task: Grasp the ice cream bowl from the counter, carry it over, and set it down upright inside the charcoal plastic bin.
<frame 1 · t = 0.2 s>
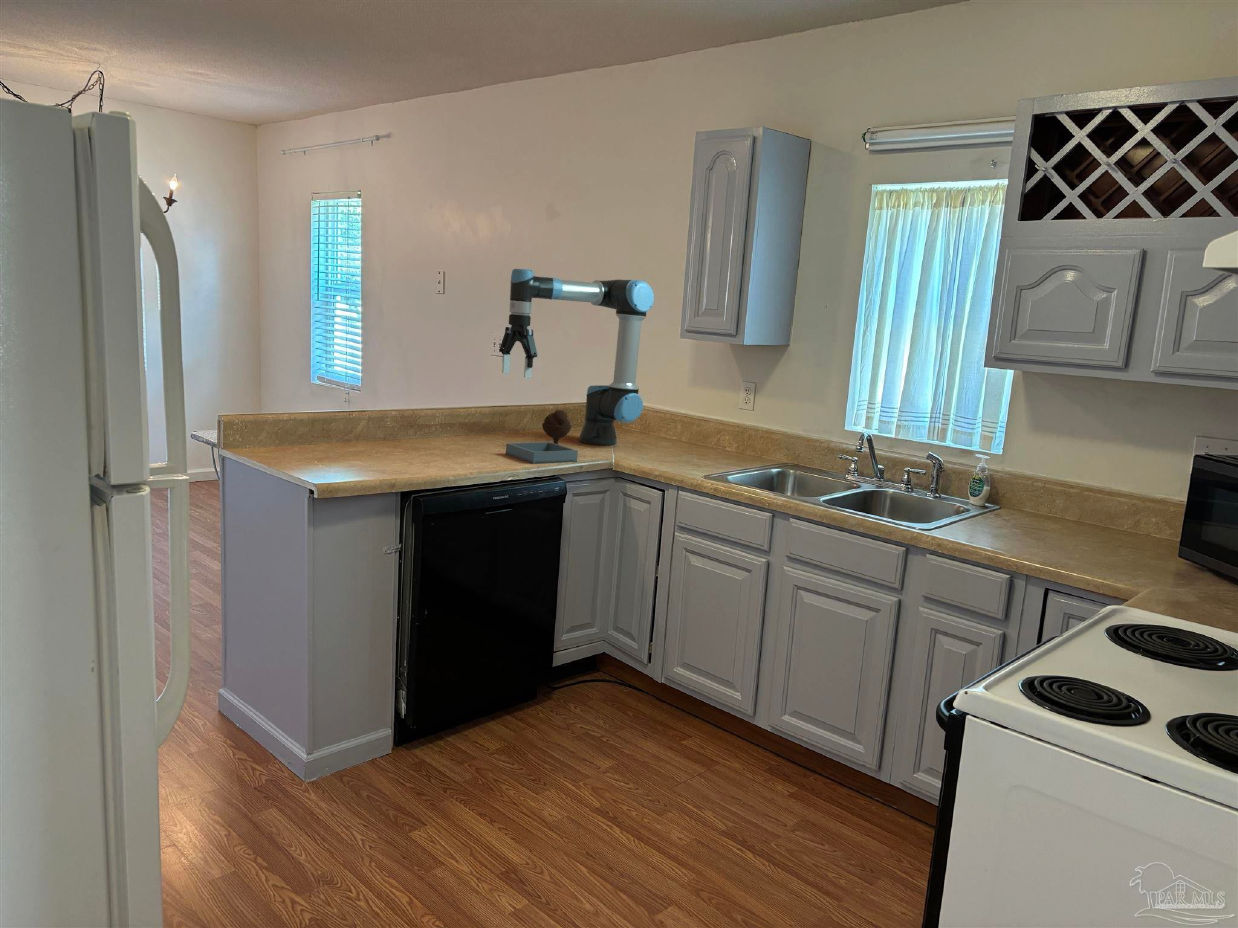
hand: (516, 375, 310), 28 cm above the worktop, fingers open, 13 cm apart
charcoal bin: (541, 458, 308), on the worktop
ice cream bowl: (555, 449, 329), on the worktop
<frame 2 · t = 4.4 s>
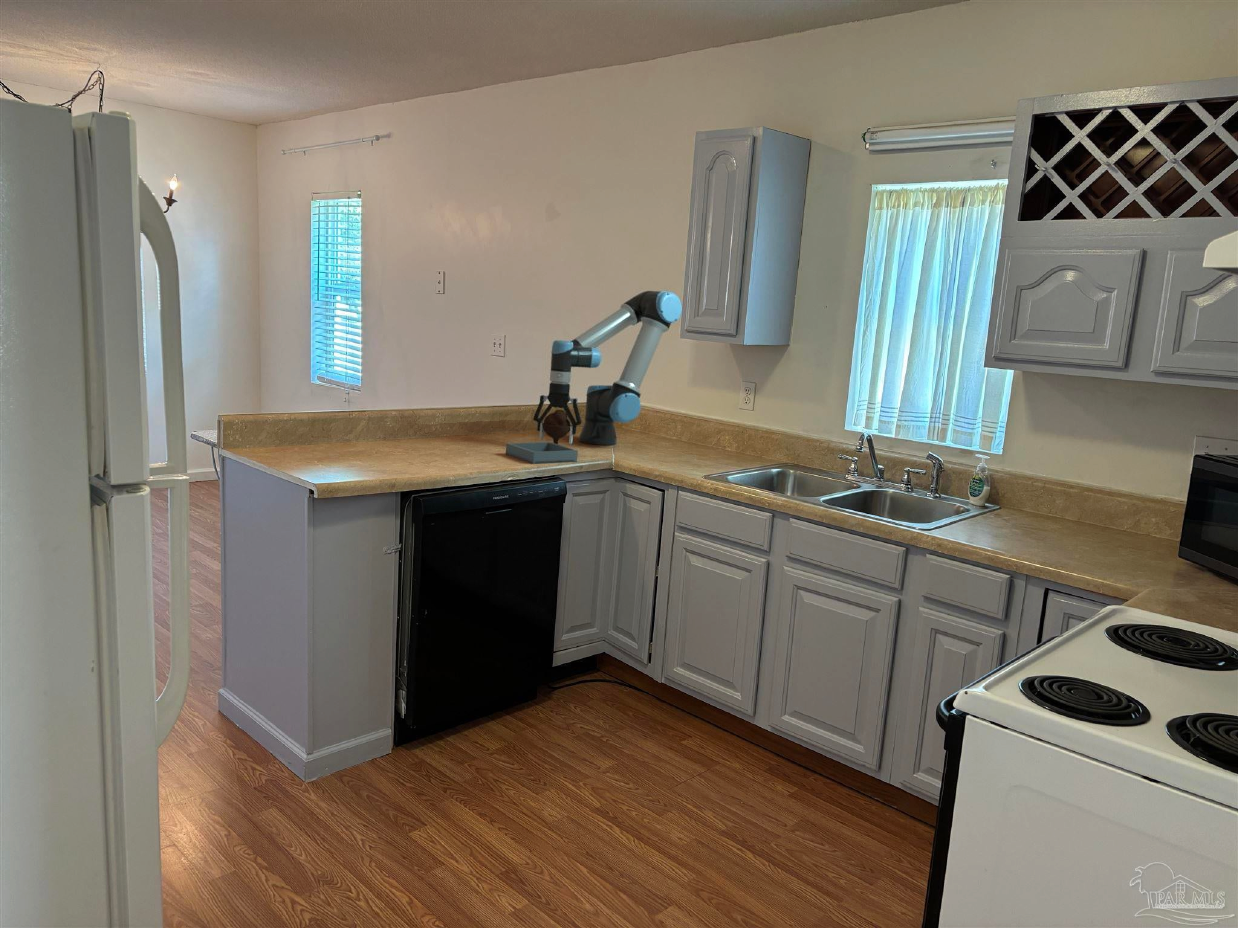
hand: (555, 441, 329), 3 cm above the worktop, fingers closed on ice cream bowl, 11 cm apart
ice cream bowl: (555, 449, 329), on the worktop, touching gripper
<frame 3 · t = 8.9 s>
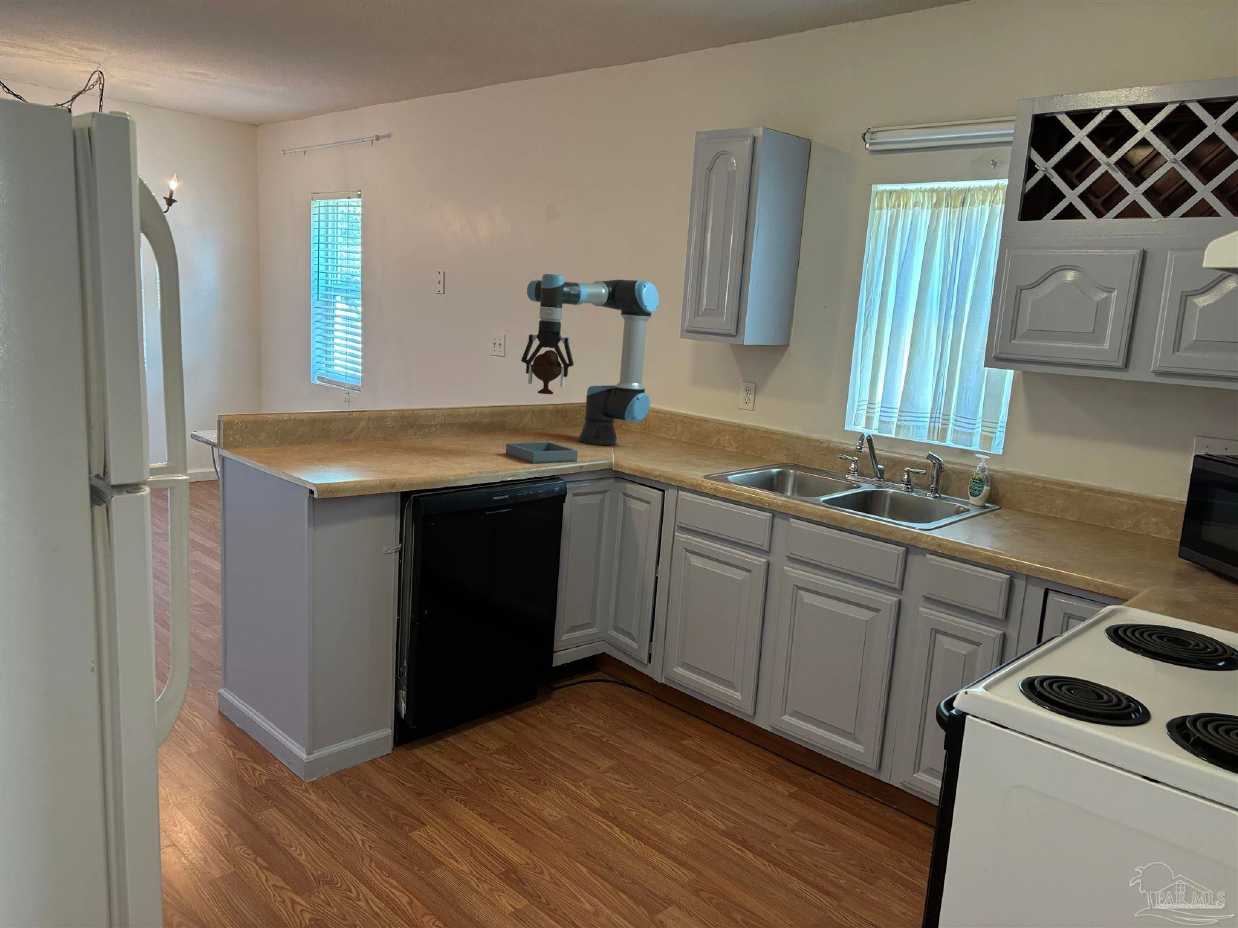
hand: (545, 385, 303), 26 cm above the worktop, fingers closed on ice cream bowl, 11 cm apart
ice cream bowl: (545, 393, 304), point 23 cm above the worktop, touching gripper
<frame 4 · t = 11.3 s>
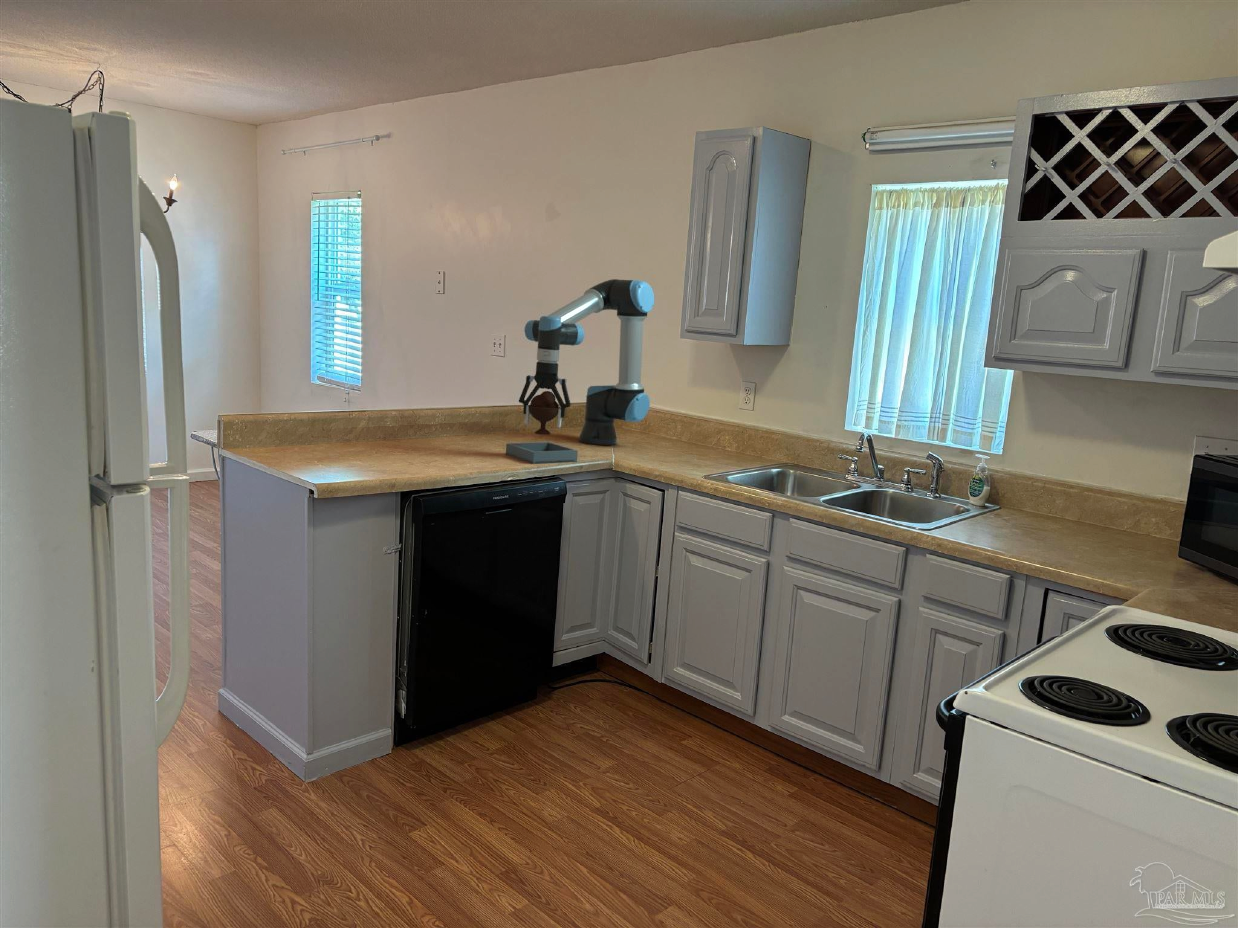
hand: (543, 425, 306), 12 cm above the worktop, fingers closed on ice cream bowl, 11 cm apart
ice cream bowl: (542, 434, 306), point 9 cm above the worktop, touching gripper
when the fingers open (5 cm above the worktop, at t = 13.6 s): ice cream bowl drops 1 cm, resting on charcoal bin.
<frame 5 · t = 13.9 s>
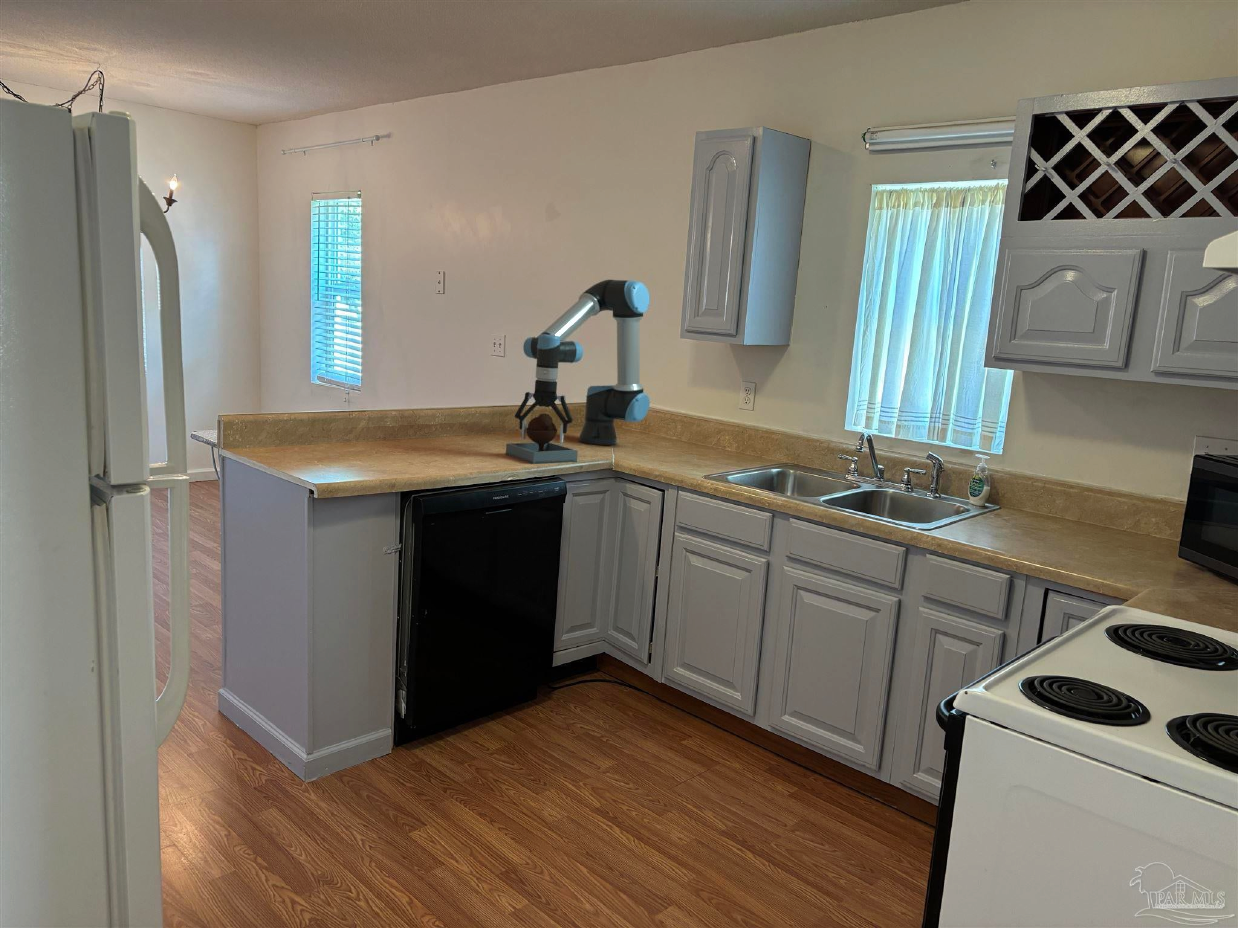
hand: (542, 440, 307), 6 cm above the worktop, fingers open, 13 cm apart
ice cream bowl: (541, 456, 307), point 1 cm above the worktop, touching charcoal bin
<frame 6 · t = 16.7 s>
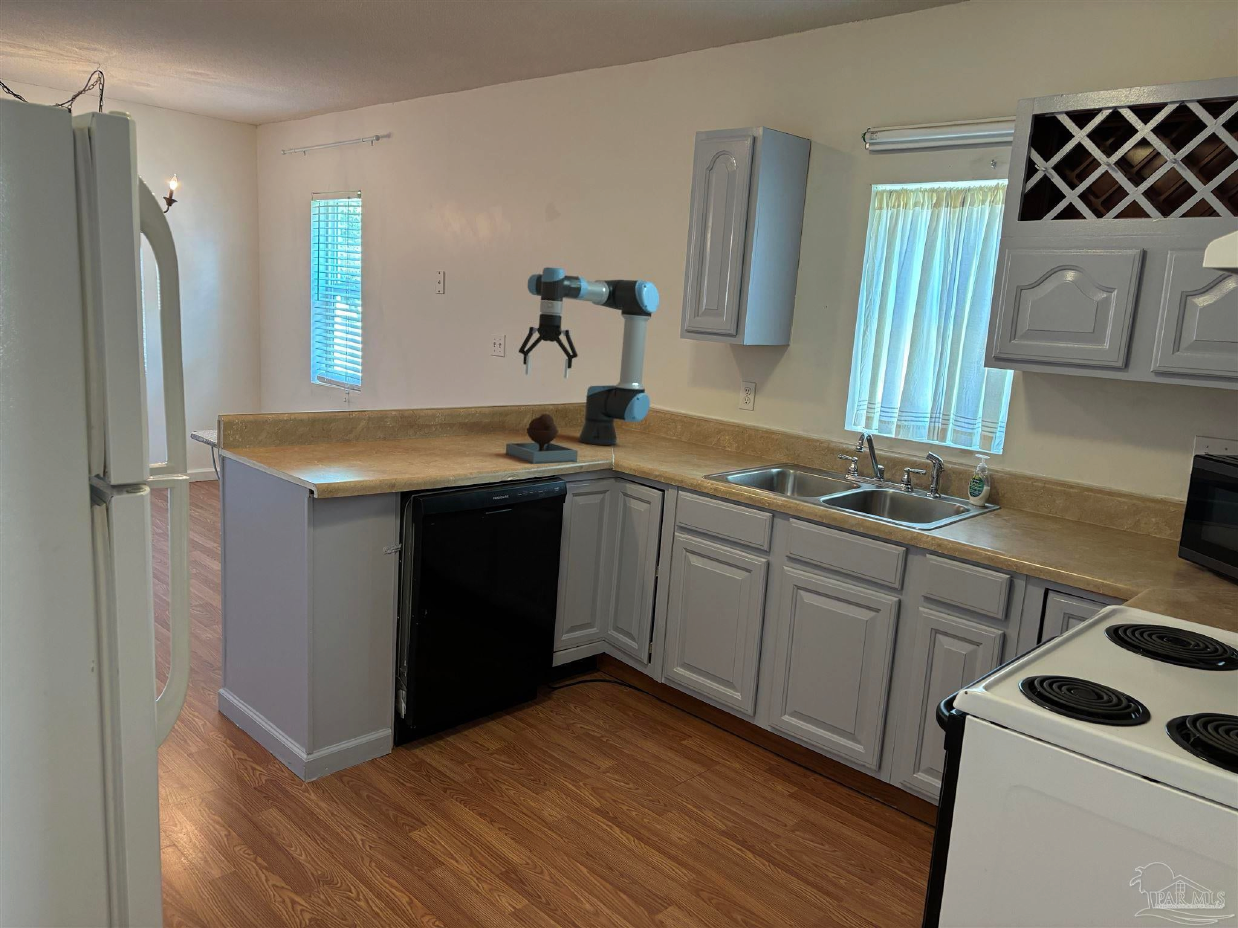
hand: (546, 376, 303), 29 cm above the worktop, fingers open, 13 cm apart
nothing on the worktop moved.
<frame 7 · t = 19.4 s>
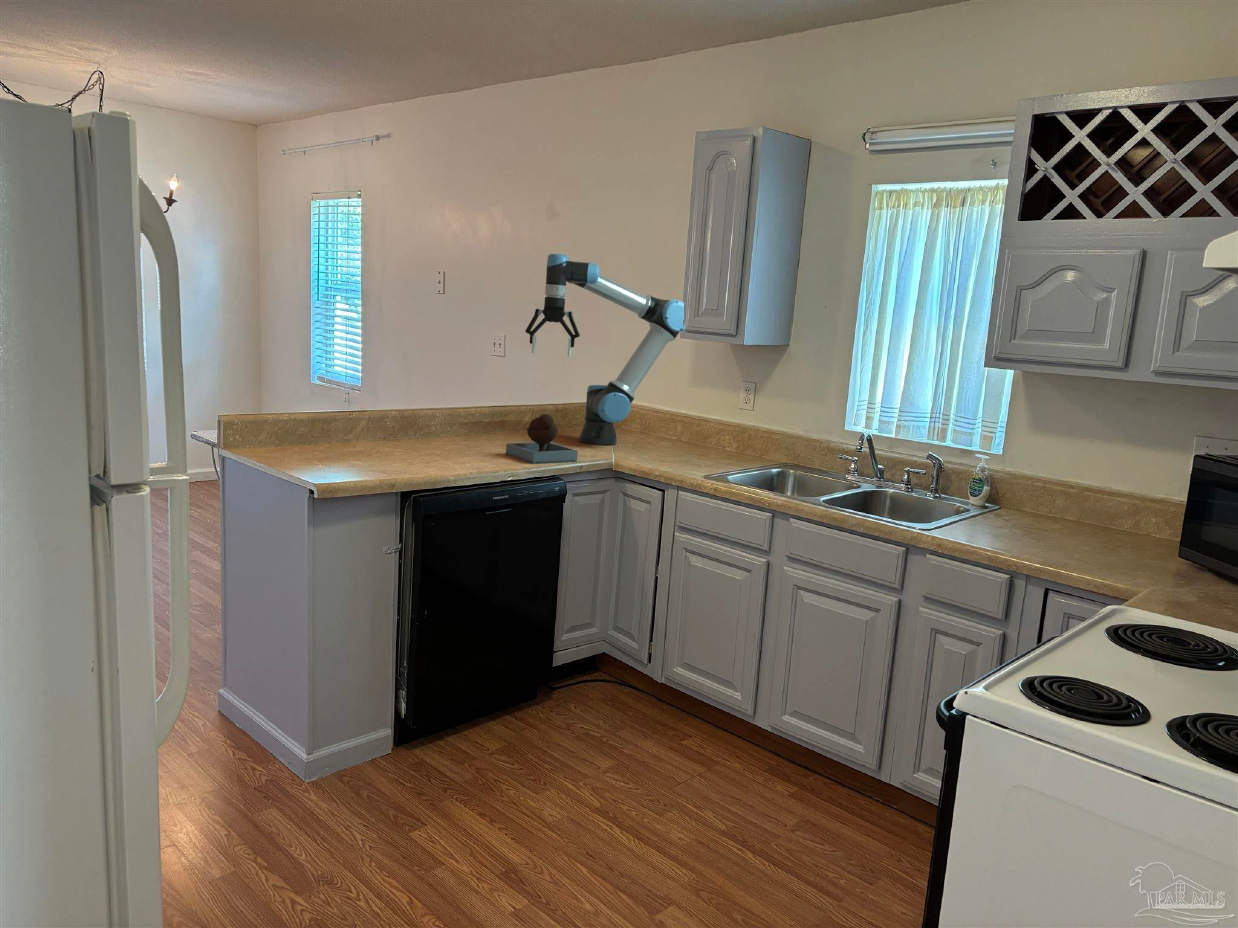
hand: (551, 354, 329), 35 cm above the worktop, fingers open, 13 cm apart
nothing on the worktop moved.
at the end: ice cream bowl inside the target area on the charcoal bin (0.2 cm from its centre), point 0.6 cm above the charcoal bin's base; ice cream bowl tilted 0°; the gripper is holding nothing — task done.
